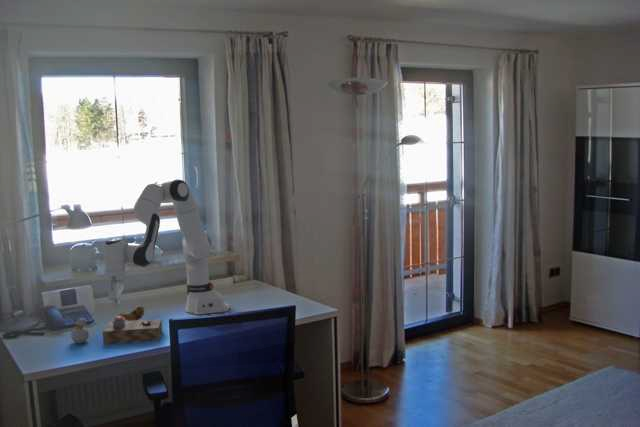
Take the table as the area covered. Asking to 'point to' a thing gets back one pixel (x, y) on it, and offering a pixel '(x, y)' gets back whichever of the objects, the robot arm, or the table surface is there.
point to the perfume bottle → (80, 331)
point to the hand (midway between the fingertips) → (116, 305)
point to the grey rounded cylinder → (118, 322)
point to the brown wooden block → (132, 332)
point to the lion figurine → (134, 314)
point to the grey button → (146, 323)
